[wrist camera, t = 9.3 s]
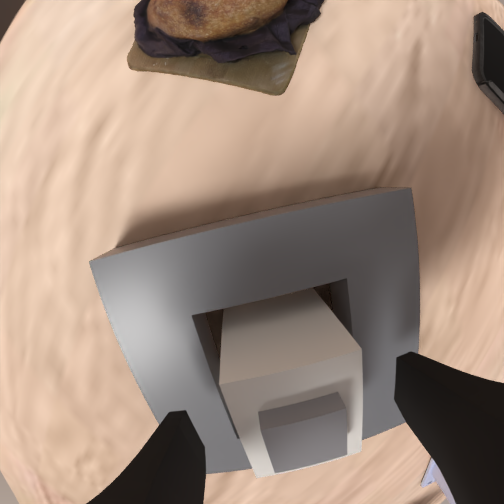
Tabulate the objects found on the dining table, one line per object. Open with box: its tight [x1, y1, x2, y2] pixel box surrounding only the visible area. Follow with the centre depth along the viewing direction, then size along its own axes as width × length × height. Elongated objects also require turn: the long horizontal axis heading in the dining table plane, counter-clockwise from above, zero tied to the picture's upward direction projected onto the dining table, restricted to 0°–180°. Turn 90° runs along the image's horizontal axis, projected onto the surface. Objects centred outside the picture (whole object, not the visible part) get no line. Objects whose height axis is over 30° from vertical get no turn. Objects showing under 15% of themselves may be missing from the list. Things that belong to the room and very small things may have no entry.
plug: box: [219, 288, 363, 478], centre depth 10 cm, size 4×5×6 cm
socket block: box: [89, 187, 420, 474], centre depth 12 cm, size 12×12×2 cm
